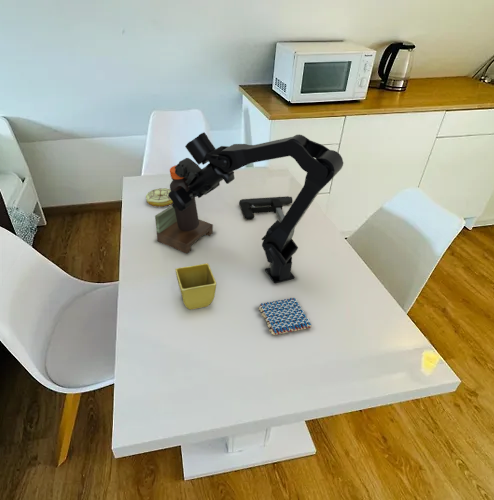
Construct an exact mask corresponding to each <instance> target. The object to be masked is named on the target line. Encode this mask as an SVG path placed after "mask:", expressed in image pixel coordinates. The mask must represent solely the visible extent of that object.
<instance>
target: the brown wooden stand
mask: <svg viewBox="0 0 494 500" xmlns="http://www.w3.org/2000/svg"><path fill="white" fill-rule="evenodd" d="M154 220H155V221H154V222H155V230H156V241H157V242H159V243H160V244H163V245H165V246H168V247H170V248H173V249H175V250H177V251H180V252H182V253H184V254H189V253H190V252H191V251H192V245H194V243H196V242H197V241H198V240H200V239H201V238H202V237H203V236H205V235H206V236H208V237H210V236H211V235H213V234H214V225H213V224H212V223H210V222H207V221H204V220H201V219H199V225H198V227H197V228H196V229H194V230H191V231H183V230H181V229H179V227H178V224H177V219H176V214H175V209H174V208H173V206H172V205H169V206H167V208H165V209H164V210H163V209H162V211H160V212H158V213H157V214H155V215H154Z"/></svg>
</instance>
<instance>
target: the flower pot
mask: <svg viewBox="0 0 494 500" xmlns="http://www.w3.org/2000/svg"><path fill="white" fill-rule="evenodd" d="M174 270H175V275H176V281H177V284H178V287H179V290H180V294H181V298H182V302H183V304H184V306H185V308H186V309H188V310H189V311H190V310H197V309H201V308H207V307H209V306H210V305H211V304H212V302H213V301H214V299H215V295H216V288H217V281H216V278H215V276H214V273H213V271H212V269H211V266H210V264H209V263H201V264H200V263H199V264H194V265H189V266H182V267H177V268H175V269H174Z"/></svg>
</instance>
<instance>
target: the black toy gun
mask: <svg viewBox="0 0 494 500" xmlns="http://www.w3.org/2000/svg"><path fill="white" fill-rule="evenodd" d="M293 202H294V200H293V197H292V196H289V195H287V196H272V197H271V196H270V197H256V198H255V197H253V198H241V199H240V200H239V201H238V205H239V207H240V210H241V213H242V215H243V219H245V220H248V221H250V220H251V221H252V220H254V219H255V214H265V213H266V214H267V213H274V214H276V216H277V218H278V220H279V221H280V222H281V221H282V220H283V218H284V216H285V213H284V212H283V206H285V205H290V204H291V205H292V204H293Z"/></svg>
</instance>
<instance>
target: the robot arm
mask: <svg viewBox="0 0 494 500" xmlns="http://www.w3.org/2000/svg"><path fill="white" fill-rule="evenodd" d="M185 149H186V150H187V151H188V153H189V154H190V156H191V157H192V158H193V160H192V159H191V158H189V157H185V158H183V159H182V160H180V161H179V162H178V163H177V164H176V165H177V166H175V165H174V166H175V173H176V174H177V175H178V176H179V177H180V178H182V177H184V178H185V179H188V180H187V181H185V182H186V184H187V185H189V186H188V187H189V188H190V190H189V191H187V192H186V190H185V189H184V188H183V187H181V186H178V187H176V188H175V189H173V190H172V191H171V192H169V193H168V196H169V197H170V199H171V200H172V201H173V203H172V204H171V206H173V208H178V209H179V211H183V210H185V209H186V208H188V207H189V206H190V205H192V198H194V197H195V198H198V199H200V198H201V197H203V196H206V195H208V194H209V193H211V192H212V191H214V190H215V189H217V188H218V187H219V186H220V185H221V184H220V183H221V182H222V181H224V183H225V184H227V185H228V184H230V183H231V182H233V181H234V180H235V171H236V170H239V169H242V168H243V167H245V166H247V165H250V164H252V163H253V164H254V163H258V162H259V163H260V162H264V161H265V162H266V161H271V160H276V159H281V158H287V157H291V158H292V159H294V160H295V162H296V163H297V164H298V166H299V167H300V169H302V170H303V171H304V172H306V175H305V179H304V184H303V187H302V188H301V190H300V192H299V193H298V194H297V196H296V197H295V199H294V200H293V201H292V203H291V205H290V207H289V209H288V210H287V211H286V213H285V214H284V218H283V220H282V221H281V222H280V220H279V219H276V221H275V222H274V223H272V225H270V226H269V228H267V229H266V233H265V235H264V236H263V237H262V238H261V240H262V242H261V247H262V249H263V251H264V254H265V258H266V261H267V263H269V267H266V268H265V269H264V272H265V273H266V274H267V276H268V277H269V278H270V279H271V281H272V282H273V283H274V284H279V283H282V282H286V281H290V280H291V281H292V280H295V275H294V274H293V273H292V267H293V266H292V265H293V255H295V253H296V252H297V251H298V250H299V247H298V245H297V244H296V242H295V241H294V240H293V236H294V234H295V229H296V227H297V225H298V224H299V223H300V221H301V220H302V218H303V216H304V215H305V214H306V212H307V211H308V210H309V208H310V206H311V205H312V203H313V202H314V200H315V199H316V198H317V196H318V194H319V193H320V192H321V190H323V189H324V188H325V187H326V186H327V185H328V184H329V182H331V181H332V180H333V178H335V176H336V175H337V174H338V173H339V172H340V171H341V170H342V169H343V166H344V161H343V157H342V156H341V154H340V153H339V152H338V151H336V150H332V149H329V148H328V147H326V146H325V145H324V144H321V143H319V142H316V141H314V140H310V139H309V138H308V137H306V136H305V135H303V134H295V135H294V136H290V137H284V138H281V139H276V140H271V141H266V142H261V143H257V144H246V143H233V144H231V145H229V146H227V145H221V146H220V145H219V147H217V148H216V147H215V145H214V144H213V143H212V142H211V140H210V139H209V137H208V135H207V134H206V133H205V132H204V131H203V132H201V133H200V134H198V136H196V137H194V138H193V139H192V140H191V141H188V142H187V144H185ZM205 164H206V165H205ZM199 165H203V166H204V165H205V166H204V167H203V168H202V167H200V166H199ZM192 193H193V194H192ZM190 194H192V195H190ZM189 195H190V196H189Z"/></svg>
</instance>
